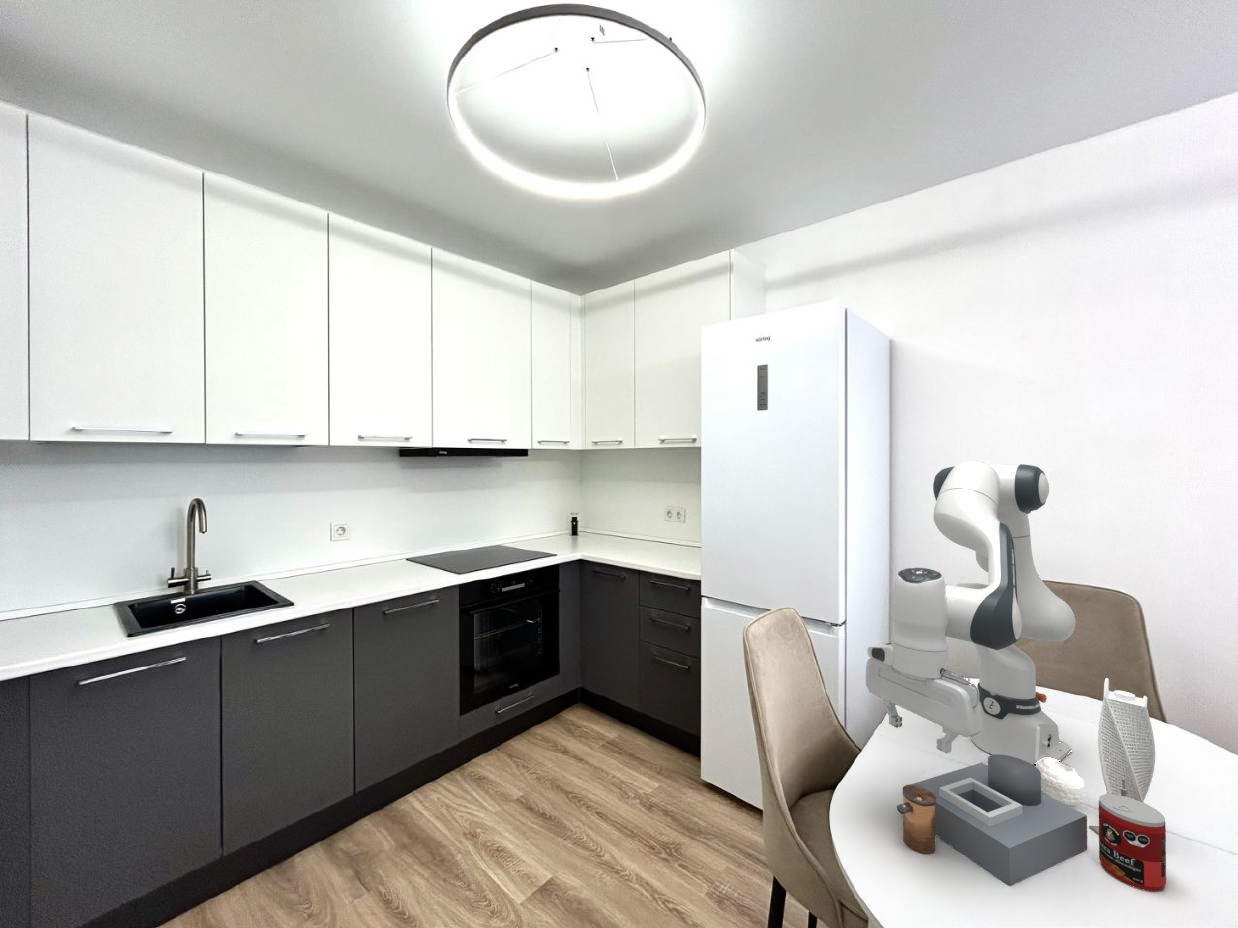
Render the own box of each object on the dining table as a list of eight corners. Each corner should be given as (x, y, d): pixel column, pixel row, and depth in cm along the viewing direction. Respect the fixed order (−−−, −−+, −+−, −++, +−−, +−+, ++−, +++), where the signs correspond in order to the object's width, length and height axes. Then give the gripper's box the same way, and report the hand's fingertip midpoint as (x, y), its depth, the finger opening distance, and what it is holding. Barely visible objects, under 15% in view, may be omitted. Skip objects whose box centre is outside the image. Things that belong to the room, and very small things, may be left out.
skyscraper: (1082, 822, 98) (1081, 675, 98) (1125, 823, 97) (1124, 676, 98) (1124, 854, 89) (1122, 693, 90) (1172, 856, 89) (1170, 695, 90)
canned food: (1086, 858, 88) (1086, 793, 89) (1128, 856, 89) (1128, 792, 89) (1134, 894, 81) (1134, 823, 81) (1180, 891, 81) (1179, 821, 82)
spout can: (915, 830, 95) (915, 781, 95) (942, 850, 90) (942, 798, 90) (887, 841, 92) (887, 790, 92) (913, 861, 87) (913, 808, 87)
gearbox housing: (981, 791, 107) (981, 738, 107) (1087, 849, 90) (1086, 786, 91) (908, 816, 99) (908, 758, 99) (1009, 885, 82) (1009, 816, 82)
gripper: (990, 679, 84) (990, 764, 83) (883, 641, 102) (883, 710, 102) (965, 684, 81) (965, 772, 81) (860, 644, 100) (859, 715, 100)
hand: (918, 737), depth 92 cm, fingers open, 8 cm apart
